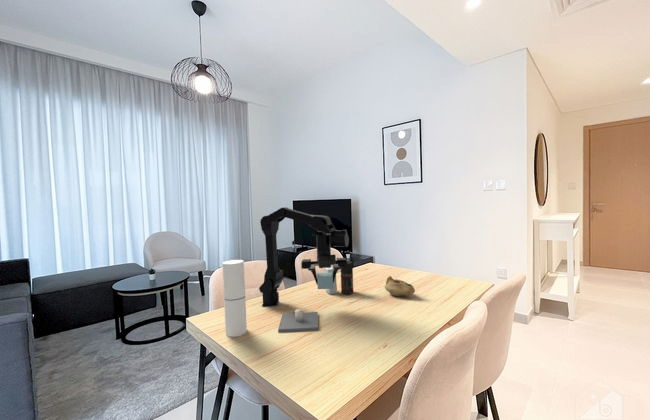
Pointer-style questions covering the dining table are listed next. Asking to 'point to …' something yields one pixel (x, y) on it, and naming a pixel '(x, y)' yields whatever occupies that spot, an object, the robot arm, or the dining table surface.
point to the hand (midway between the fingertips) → (324, 283)
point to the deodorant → (347, 279)
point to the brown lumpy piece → (398, 287)
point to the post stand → (298, 321)
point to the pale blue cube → (325, 280)
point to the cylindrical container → (234, 298)
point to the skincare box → (334, 290)
